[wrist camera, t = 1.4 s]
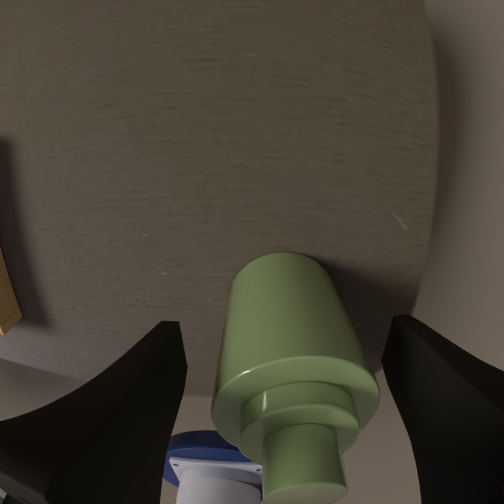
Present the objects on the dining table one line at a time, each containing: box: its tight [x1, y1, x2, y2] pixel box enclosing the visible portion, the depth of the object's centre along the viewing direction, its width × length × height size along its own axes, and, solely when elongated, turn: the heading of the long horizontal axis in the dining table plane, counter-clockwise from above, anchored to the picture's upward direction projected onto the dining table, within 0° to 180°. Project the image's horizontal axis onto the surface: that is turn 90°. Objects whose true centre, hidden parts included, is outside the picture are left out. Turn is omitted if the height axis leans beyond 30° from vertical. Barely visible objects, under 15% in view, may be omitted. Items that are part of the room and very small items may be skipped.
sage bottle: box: [211, 252, 380, 504], centre depth 8 cm, size 4×4×8 cm
